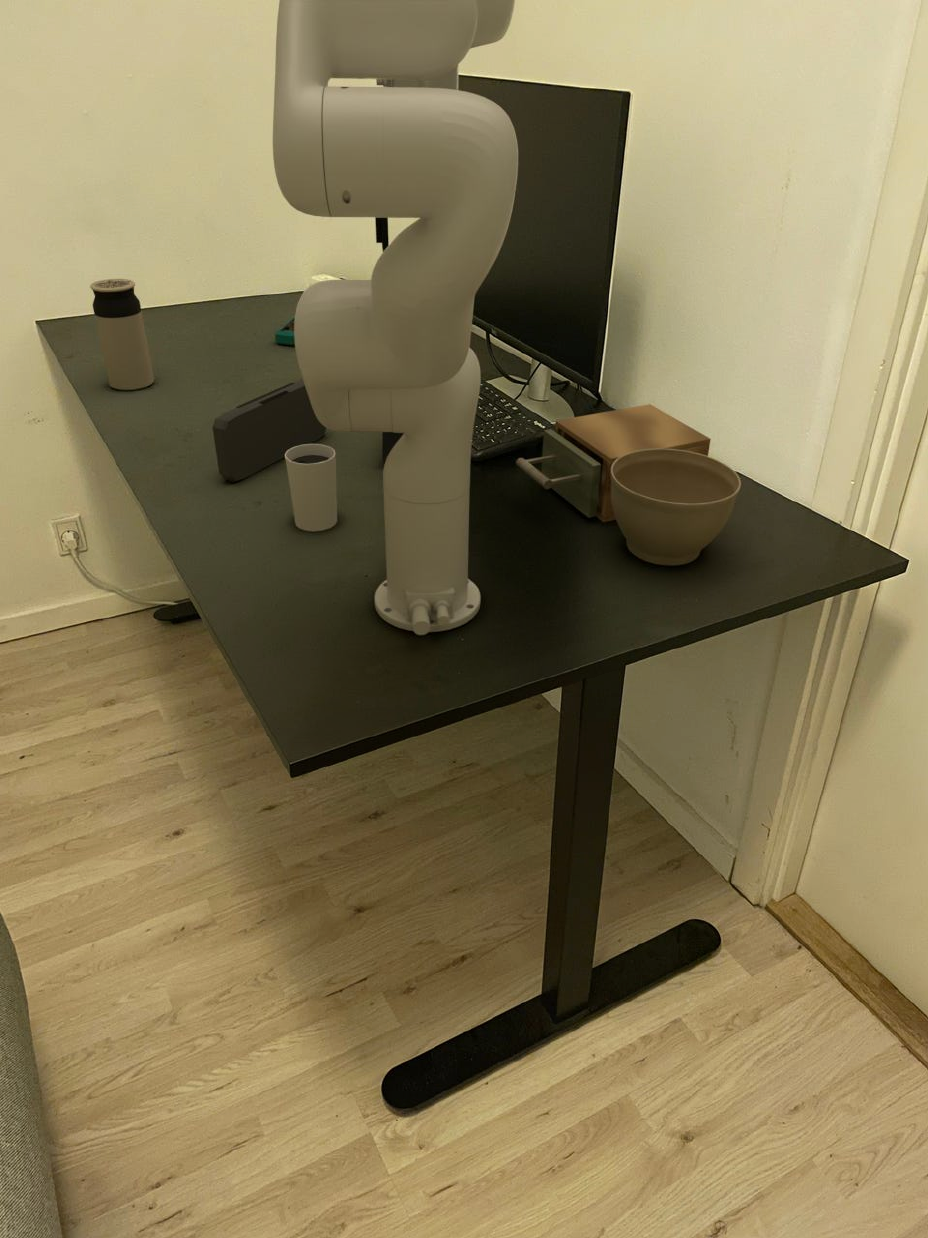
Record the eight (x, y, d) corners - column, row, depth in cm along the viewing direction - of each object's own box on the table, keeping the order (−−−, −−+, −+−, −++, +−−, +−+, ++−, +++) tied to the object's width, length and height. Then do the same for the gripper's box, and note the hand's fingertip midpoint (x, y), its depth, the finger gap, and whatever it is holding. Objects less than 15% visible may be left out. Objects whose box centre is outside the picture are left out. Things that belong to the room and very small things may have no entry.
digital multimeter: (274, 345, 189) (273, 331, 188) (296, 325, 202) (294, 311, 200) (308, 348, 188) (307, 333, 187) (328, 327, 201) (327, 313, 199)
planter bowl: (634, 589, 112) (645, 509, 106) (583, 528, 125) (591, 454, 119) (749, 571, 116) (766, 494, 110) (689, 514, 129) (701, 442, 123)
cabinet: (603, 522, 126) (610, 458, 121) (550, 480, 137) (555, 420, 132) (700, 500, 133) (711, 438, 127) (642, 462, 143) (650, 403, 138)
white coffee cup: (327, 536, 122) (321, 467, 116) (282, 528, 124) (275, 459, 118) (348, 514, 127) (344, 447, 122) (305, 507, 129) (299, 440, 123)
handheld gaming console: (315, 431, 152) (310, 372, 146) (328, 434, 151) (324, 375, 145) (218, 481, 135) (208, 417, 130) (232, 485, 134) (222, 421, 129)
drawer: (551, 526, 123) (555, 473, 119) (505, 486, 133) (507, 436, 129) (680, 497, 131) (688, 446, 127) (627, 462, 141) (633, 414, 137)
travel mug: (156, 388, 168) (138, 287, 157) (111, 393, 165) (89, 291, 155) (152, 374, 174) (134, 276, 164) (108, 379, 171) (87, 279, 161)
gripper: (344, 86, 96) (353, 257, 105) (507, 87, 97) (501, 255, 107) (344, 80, 102) (352, 242, 111) (497, 81, 103) (492, 241, 113)
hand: (425, 248), depth 109 cm, fingers open, 9 cm apart
